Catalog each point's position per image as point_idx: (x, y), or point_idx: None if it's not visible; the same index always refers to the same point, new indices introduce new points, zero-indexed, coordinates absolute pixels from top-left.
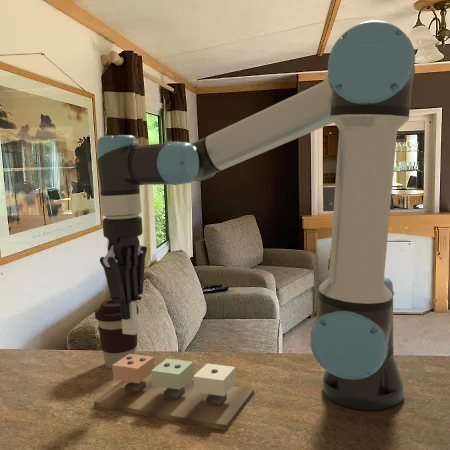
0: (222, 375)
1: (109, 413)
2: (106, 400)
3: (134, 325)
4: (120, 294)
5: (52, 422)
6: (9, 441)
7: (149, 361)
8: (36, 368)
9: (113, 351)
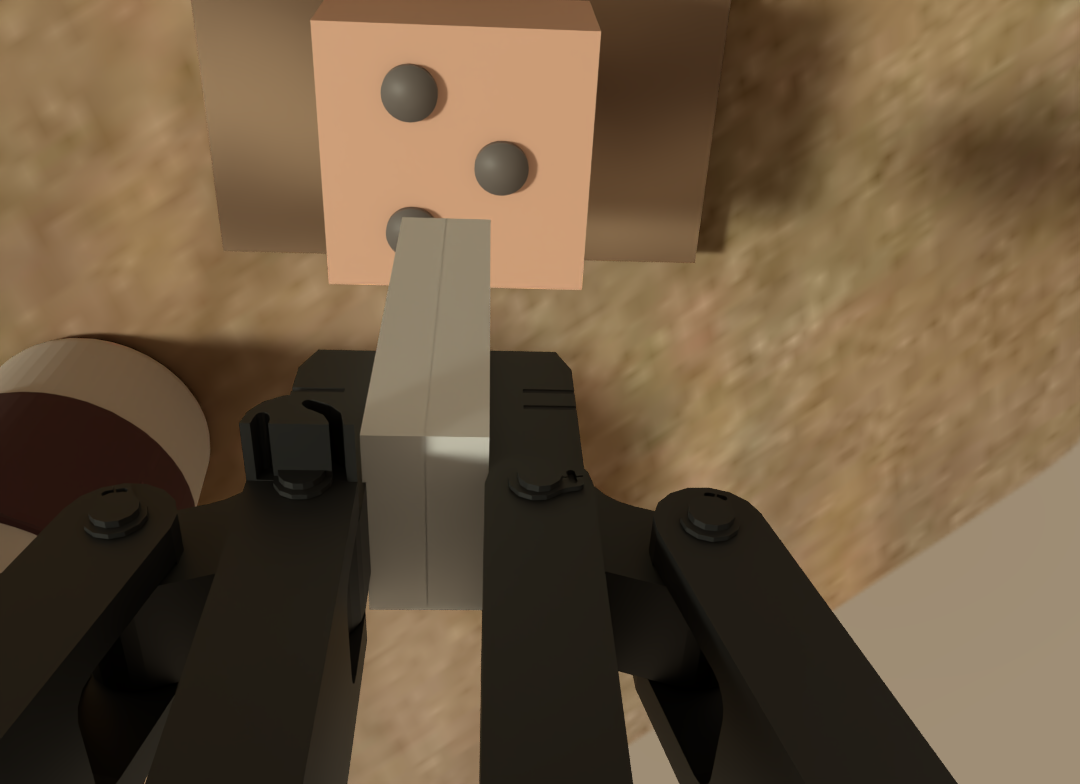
0: None
1: (751, 105)
2: (664, 194)
3: (466, 265)
4: (831, 610)
5: (889, 359)
6: (1074, 431)
7: (400, 19)
8: (366, 777)
9: (184, 486)
